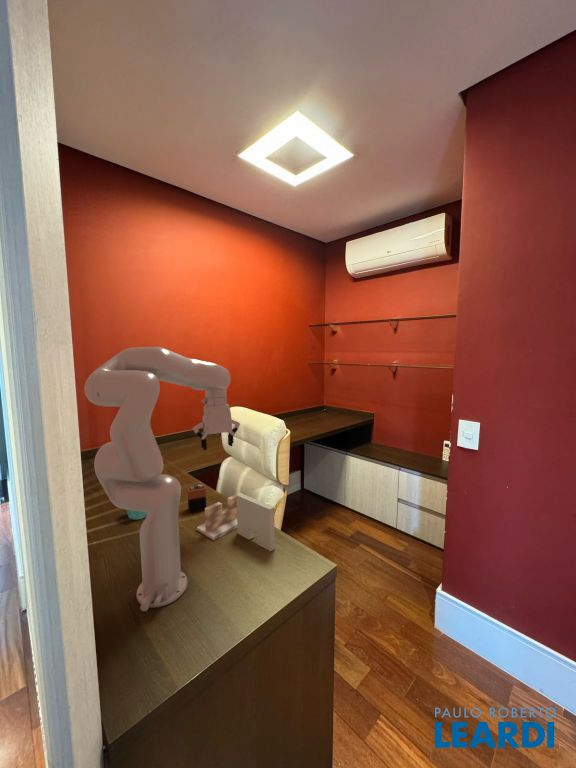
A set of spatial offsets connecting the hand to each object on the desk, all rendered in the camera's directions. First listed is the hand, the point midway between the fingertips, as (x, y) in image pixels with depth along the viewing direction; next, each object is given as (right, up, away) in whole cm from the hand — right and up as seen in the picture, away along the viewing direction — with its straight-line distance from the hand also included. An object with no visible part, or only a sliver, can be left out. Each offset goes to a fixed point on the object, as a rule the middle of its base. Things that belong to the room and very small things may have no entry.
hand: (217, 447), depth 115 cm
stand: (+3, -29, 0) cm, 29 cm away
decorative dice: (-33, -29, +8) cm, 44 cm away
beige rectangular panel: (+15, -29, -10) cm, 35 cm away
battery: (-11, -28, +12) cm, 32 cm away
